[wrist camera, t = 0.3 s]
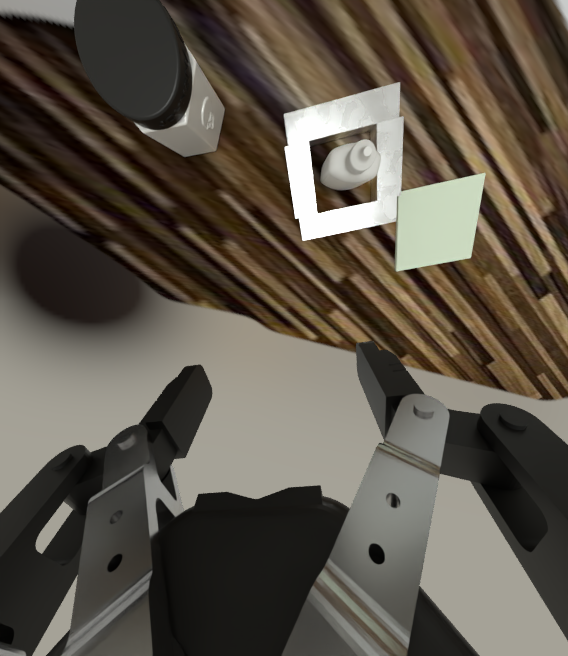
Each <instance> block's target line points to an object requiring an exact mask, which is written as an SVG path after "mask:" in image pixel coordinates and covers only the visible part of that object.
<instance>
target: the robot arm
mask: <svg viewBox="0 0 568 656" xmlns="http://www.w3.org/2000/svg"><path fill="white" fill-rule="evenodd" d="M356 355H357V372H358V377H359V380H360V383H361V385H362V388H363V390H364V393H365V395H366V397H367V400H368V402H369V405H370V407H371V410H372V412H373V414H374V417H375V419H376V421H377V424H378V427H379V429H380V431H381V434H382V436H383V439H384V442H383V444H382V443H379V444H378V446H377V447H376V450H375V452H374V454H373V456H372V459H371V461H370V463H369V466H368V468H367V470H366V473H365V475H364V477H363V480H362V482H361V484H360V487H359V489H358V492H357V494H356V496H355V498H354V500H353V503H352V505H351V507H350V509H349V508H348V507H347V506H345V505H344V504H342V503H340V502H338V501H336V500H333V499H331V498H328V497H324V496H322V491H321V486H305V487H291V488H287V489H284V490H281V491H279V492H276V493H273V494H271V495H268V496H265V497H262V498H260V499H252V498H247V497H244V496H240V495H237V494H233V493H229V492H221V493H220V492H219V493H207V494H206V493H205V494H198V497H197V500H196V503H195V506H193V507H191V508H189V509H187V510H185V511H184V509H183V506H182V502H181V498H180V493H179V489H178V485H177V481H176V476H175V472H174V468H173V466H172V465H171V464H172V462H173V460H174V459H179V458H185V457H186V455H187V453H188V451H189V448H190V446H191V444H192V442H193V439H194V437H195V435H196V432H197V430H198V428H199V425H200V423H201V421H202V419H203V416H204V414H205V412H206V409H207V407H208V405H209V403H210V400H211V398H212V387H211V385H210V382H209V380H208V378H207V375H206V373H205V371H204V369H203V367H202V366H201V365H193V366H186V367H184V368H183V370H182V371H181V373H180V374H179V375H178V377H176V378H175V379H174V380H173V381H172V382H170V383H169V384H168V385H167V386H166V388H165V389H164V390H163V392H162V394H161V395H160V396H159V397H158V399H157V401H155V403H154V404H153V405H152V407H151V408H150V410H149V411H148V412H147V414H146V415H145V416H144V418H143V419H142V420H141V422H140V423H139V424H138V425H133V426H130V427H128V428H126V429H124V430H123V431H121V432H120V433H119V434H117V435H116V436H115V437H114V438H113V439H112V440H111V441H110V443H109V444H108V446H107V447H104V448H101V449H99V450H96V451H93V452H89V451H88V450H87V448H86V447H85V446H83V445H77V446H73V447H70V448H68V449H66V450H64V451H63V452H61V453H59V454H58V455H57V456H55V457H54V458H53V459H51V460H50V461H49V462H48V463H47V464H46V465H45V466H44V467H43V468H42V469H41V470H40V471H39V473H38V474H37V475H36V476H35V477H34V478H33V479H32V480H31V481H30V482H29V484H27V485H26V486H25V488H24V489H23V490H22V491H21V492H20V493H19V494H18V495H17V496H16V497H15V498H14V499H13V500H12V501H11V502H10V503H9V504H8V506H7V507H6V508H5V509H4V510H3V511H2V512H1V513H0V656H32V655H33V653H34V651H35V649H36V647H37V646H38V644H39V642H40V640H41V638H42V637H43V635H44V633H45V631H46V630H47V628H48V626H49V624H50V622H51V620H52V619H53V617H54V615H55V613H56V612H57V610H58V608H59V606H60V605H61V603H62V601H63V599H64V597H65V596H66V594H67V592H68V590H69V589H70V587H71V585H72V583H73V581H74V580H75V578H76V576H77V574H78V577H77V585H76V592H75V599H74V606H73V613H72V620H71V627H70V630H69V631H68V632H67V633H66V634H65V635H64V637H63V638H62V639H61V640H60V641H59V642H58V643H57V644H56V645H55V646H54V647H53V649H52V650H51V651H50V652H49V653H48V654H47V655H46V656H479V655H478V654H477V652H476V651H475V650H474V649H473V648H472V646H471V645H470V644H469V643H468V642H467V641H466V640H465V638H464V637H463V636H462V635H461V634H460V632H459V631H458V630H457V629H456V628H455V627H454V626H453V624H452V623H451V622H450V621H449V620H448V619H447V617H446V616H445V615H444V614H443V613H442V611H441V610H440V609H439V608H438V607H437V606H436V604H435V603H434V602H433V601H432V600H431V599H430V597H429V596H428V595H427V594H426V593H425V592H424V590H423V589H422V588H421V587H420V586H419V585H420V580H421V574H422V569H423V563H424V558H425V552H426V547H427V541H428V536H429V530H430V525H431V518H432V513H433V508H434V503H435V497H436V492H437V486H438V480H439V474H444V475H448V476H452V477H456V478H460V479H464V480H469V481H471V483H472V484H473V486H474V488H475V490H476V491H477V493H478V495H479V496H480V498H481V499H482V501H483V503H484V504H485V506H486V508H487V509H488V511H489V513H490V514H491V516H492V518H493V519H494V521H495V522H496V524H497V526H498V527H499V529H500V530H501V532H502V534H503V535H504V537H505V539H506V540H507V542H508V544H509V545H510V547H511V549H512V550H513V552H514V553H515V555H516V557H517V558H518V560H519V562H520V563H521V565H522V567H523V568H524V570H525V571H526V573H527V575H528V576H529V578H530V580H531V581H532V583H533V585H534V586H535V588H536V589H537V591H538V593H539V594H540V596H541V598H542V599H543V601H544V603H545V604H546V605H547V607H548V609H549V611H550V612H551V614H552V616H553V617H554V619H555V620H556V622H557V624H558V625H559V627H560V629H561V630H562V632H563V634H564V635H565V637H566V638H567V640H568V445H567V444H566V443H565V442H564V441H563V440H562V439H561V438H559V437H558V436H557V435H556V434H555V433H554V432H553V431H552V430H550V429H549V428H548V427H547V426H546V425H545V424H544V423H542V422H541V421H540V420H539V419H538V418H537V417H535V416H533V415H532V414H530V413H528V412H527V411H525V410H522V409H520V408H517V407H515V406H511V405H507V404H500V403H496V404H495V403H494V404H488V405H486V406H484V407H483V408H482V410H481V412H480V414H476V413H469V412H462V411H454V410H450V409H447V408H446V407H445V405H444V404H442V403H441V402H440V401H439V400H437V399H435V398H433V397H431V396H427V395H425V394H424V393H423V391H422V390H421V389H420V387H419V386H418V385H417V383H416V382H415V381H414V379H413V378H412V377H411V375H410V374H409V373H408V371H406V368H405V367H404V366H403V364H401V362H400V360H399V359H398V358H397V356H396V355H394V354H393V353H391V352H389V351H388V350H379V349H378V348H377V346H376V345H375V343H374V342H373V341H368V342H361V343H357V344H356ZM63 501H64V502H65V503H66V504H68V505H69V506H70V507H71V508H72V509H73V511H72V512H71V513H70V515H69V516H68V518H67V519H66V521H65V522H64V523H63V525H62V526H61V528H60V529H59V531H58V532H57V533H56V535H55V536H54V538H53V539H52V541H51V542H50V543H49V545H48V546H47V548H46V549H45V551H44V552H43V553H42V554H41V553H39V552H38V551H37V550H36V547H35V544H36V540H37V537H38V535H39V533H40V532H41V530H42V529H43V528H44V526H45V525H46V524H47V522H48V521H49V520H50V518H51V517H52V516H53V514H54V513H55V512H56V510H57V509H58V508H59V506H60V505H61V504H62V503H63Z"/></svg>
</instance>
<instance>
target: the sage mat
mask: <svg viewBox="0 0 568 656" xmlns="http://www.w3.org/2000/svg"><path fill="white" fill-rule="evenodd" d="M484 179H485V173H482V174H478V175H473V176H469V177H464V178H460V179H455V180H451V181H446V182H442V183H437V184H433V185H428V186H424V187H419V188H415V189H410V190H406V191H401V196H397V214H396V242H395V271H401V270H406V269H412V268H418V267H423V266H429V265H434V264H440V263H445V262H451V261H456V260H462V259H467V258H471V254H472V248H473V242H474V236H475V231H476V225H477V219H478V213H479V208H480V202H481V196H482V190H483V184H484Z"/></svg>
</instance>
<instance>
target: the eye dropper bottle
mask: <svg viewBox="0 0 568 656" xmlns="http://www.w3.org/2000/svg"><path fill="white" fill-rule="evenodd" d="M380 161H381V155H380V153H379V152H378V151H376V148H375V145H374V144H373V143H372V142H371V141H370V140H366V139H364V140H360V141H358V142H357V143H350V144H345V145H342V146H339V147H337V148H335V149H333V150H332V151H331V152H330V153H329V155H328V156H327V158H326V160H325V162H324V164H323V166H322V169H321V177H320V181H321V183H322V184H323V185H325V186H327V187H329V188H331V189H335V190H349V189H353V188H356V187H358V186H360V185H362V184H364V183H366V182H368V181H369V180H371V179H373V178H374V177H375V176H376V175H377V173H378V170H379V166H380Z"/></svg>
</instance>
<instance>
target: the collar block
mask: <svg viewBox="0 0 568 656" xmlns="http://www.w3.org/2000/svg"><path fill="white" fill-rule="evenodd" d="M399 102H400V82H398V83H395V84H391V85H388V86H384V87H380V88H377V89H373V90H369V91H366V92H362V93H359V94H355V95H351V96H348V97H344V98H341V99H337V100H333V101H330V102H326V103H322V104H319V105H315V106H312V107H308V108H304V109H301V110H297V111H294V112H290V113H286V114H284V122H285V129H286V136H287V143H288V146H287V147H285V155H286V161H287V168H288V174H289V181H290V187H291V194H292V200H293V206H294V213H295V219H296V218H299V223H300V230H301V237H302V241H304V240H309V239H313V238H318V237H323V236H328V235H333V234H338V233H343V232H347V231H352V230H357V229H362V228H367V227H372V226H376V225H381V224H386V223H391V222H396V214H397V196H401V179H402V149H403V119H404V116H403V117H399ZM368 131H370V141H371V142H372V143H373V144H374V145H375V148H376V151H378V152H379V153H380V155H381V161H380V166H379V170H378V173H377V175H376V176H375V177H374V178H373V179H371V202H369V203H365V204H360V205H356V206H351V207H347V208H342V209H337V210H333V211H328V212H324V213H319V214H317V207H316V199H315V190H314V181H313V173H312V164H311V155H310V146H314V145H317V144H321V143H325V142H329V141H333V140H337V139H341V138H345V137H349V136H353V135H357V134H360V133H364V132H368Z"/></svg>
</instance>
